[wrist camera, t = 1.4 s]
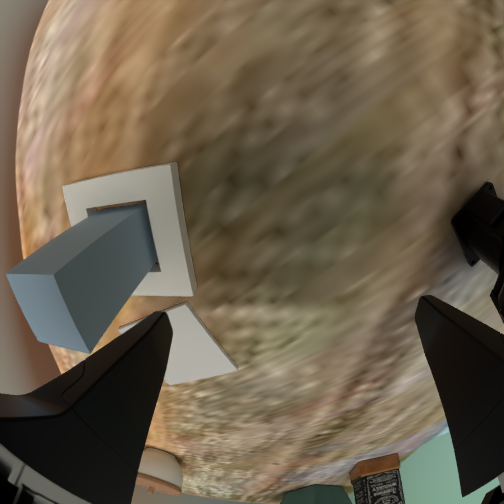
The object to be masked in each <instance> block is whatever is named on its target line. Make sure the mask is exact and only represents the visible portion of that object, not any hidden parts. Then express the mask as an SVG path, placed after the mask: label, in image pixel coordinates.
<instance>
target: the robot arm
mask: <svg viewBox="0 0 504 504" xmlns="http://www.w3.org/2000/svg"><path fill="white" fill-rule="evenodd" d="M456 221H457V223H456ZM452 226H453V228H454V230H455V233H456V235H457V237H458V239H459V242H460V244H461V247H462V249H463V251H464V254H465V256H466V259H467V262H468V264H469V265H470V266H474V265H475V264H476V263H477V262H478V261H479V260H480V259H481V260H482V261H483V262H484V263H486V264H487V265H488V266H489V267H490V268H491V269H492V270H494V271H495V272H496V273H497V274H498V278H497V281H496V283H495V286H494V289H493V290H492V291H491V294H490V297H491V299H492V301H493V303H494V305H495V307H496V308H497V310H498V313H499V315H500V317H501V319H502V321H503V323H504V200H502V199H500V198H498V197H497V195H496V192H495V189H494V186H493V184H492V183H491V182H486V184H485V185H484V186H483V187H482V188H481V189H480V190H479V191H478V192H477V194H476V195H475V196H474V197H473V198H472V199H471V200H470V201H469V202H468V203H467V204H466V205H465V206H464V207H463V208H462V209H461V211H460V212H459V213H458V214H457V215H456V216H455V217H454V218H453V219H452ZM415 322H416V325H417V328H418V332H419V335H420V339H421V342H422V346H423V349H424V353H425V356H426V359H427V361H428V364H429V367H430V369H431V372H432V375H433V378H434V381H435V384H436V387H437V390H438V393H439V396H440V399H441V402H442V405H443V409H444V412H445V416H446V419H447V423H448V427H449V431H450V434H451V438H452V443H453V447H454V449H455V450H454V452H455V457H456V462H457V467H458V473H459V479H460V486H461V493H462V497H464V496H466V495H468V494H470V493H472V492H474V491H475V490H477V489H479V488H480V487H482V486H484V485H485V484H487V483H488V482H490V481H492V480H493V479H495V478H496V477H498V479H499V482H500V485H498V486H497V487H495V488H494V489H493V490H491V491H490V492H488V493H486V495H485V497H484V499H483V501H482V503H481V504H504V335H503V334H502V333H500V332H498V331H496V330H495V329H493V328H491V327H489V326H488V325H486V324H484V323H482V322H480V321H479V320H477V319H475V318H473V317H471V316H470V315H468V314H466V313H464V312H462V311H460V310H458V309H457V308H455V307H453V306H451V305H449V304H447V303H445V302H443V301H442V300H440V299H438V298H436V297H434V296H432V295H425V296H421V297H420V299H419V302H418V305H417V309H416V313H415ZM172 338H173V329H172V326H171V323H170V320H169V317H168V314H167V313H166V312H165V311H155V312H154V313H152V314H151V315H149V316H148V317H146V318H145V319H143V320H142V321H140V322H139V323H137V324H136V325H134V326H133V327H131V328H130V329H129V330H127V331H126V332H124V333H123V334H121V335H120V336H118V337H117V338H115V339H114V340H112V341H111V342H110V343H108V344H107V345H105V346H104V347H102V348H101V349H99V350H98V351H96V352H95V353H93V354H92V355H91V356H89V357H88V358H86V359H85V360H83V361H82V362H80V363H79V364H77V365H76V366H74V367H73V368H71V369H70V370H68V371H67V372H65V373H63V374H62V375H60V376H58V377H57V378H55V379H53V380H52V381H50V382H48V383H46V384H44V385H43V386H41V387H39V388H37V389H36V390H34V391H32V392H30V393H27V394H24V395H9V394H1V393H0V504H131V501H132V496H133V492H134V487H135V483H136V479H137V475H138V470H139V466H140V462H141V458H142V454H143V450H144V446H145V443H146V439H147V435H148V431H149V428H150V424H151V421H152V417H153V414H154V410H155V407H156V403H157V400H158V396H159V393H160V390H161V386H162V383H163V380H164V377H165V373H166V369H167V364H168V359H169V354H170V348H171V343H172Z"/></svg>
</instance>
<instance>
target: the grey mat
mask: <svg viewBox="0 0 504 504" xmlns="http://www.w3.org/2000/svg"><path fill="white" fill-rule="evenodd" d="M163 311H165V312H166V313H167V314H168V317H169V320H170V323H171V326H172V329H173V338H172V343H171V348H170V354H169V359H168V364H167V369H166V373H165V377H164V380H165V381H166V382H167V383H168V384H169V385H173V384H179V383H184V382H189V381H194V380H199V379H204V378H209V377H213V376H217V375H222V374H226V373H230V372H234V371H238V366H237V365H236V364H235V363H234V362H233V360H232V359H231V358H230V357H229V355H228V354H227V353H226V352H225V351H224V349H223V348H222V347H221V346H220V344H219V343H218V342H217V340H216V339H215V338H214V337H213V335H212V334H211V333H210V331H209V330H208V329H207V328H206V326H205V325H204V324H203V322H202V321H201V320H200V318H199V317H198V316H197V314H196V313H195V312H194V310H193V309H192V308H191V306H190V305H189V303H188V302H187V301H186V302H184V303H181V304H178V305H176V306H173V307H171V308H168V309H166V310H163ZM145 318H146V317H145ZM145 318H142V319H140V320H137V321H134V322H132V323H129V324H127V325H124V326H121V327H119V329H118V331H119V332H120V333H121V334H123V333H124V332H126V331H127V330H129V329H130V328H131V327H133V326H134V325H136V324H137V323H139V322H140V321H142V320H143V319H145Z"/></svg>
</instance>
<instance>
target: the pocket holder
mask: <svg viewBox="0 0 504 504" xmlns="http://www.w3.org/2000/svg"><path fill="white" fill-rule="evenodd" d="M62 188H63V193H64V198H65V202H66V207H67V211H68V215H69V219H70V223H71V227H73V226H74V225H76V224H77V223H79V222H81V221H82V220H84V219H86V218H87V217H89V216H91V215H92V214H94V213H96V212H97V210H96V207H99V206H105V205H112V204H119V203H126V202H133V201H140V200H146V203H147V208H148V214H149V219H150V224H151V229H152V234H153V238H154V243H155V247H156V252H157V256H158V260H159V264H154V266H153V267H152V268H151V270H150V271H149V272H148V273H147V275H146V276H145V277H144V279H143V280H142V281H141V283H140V284H139V285H138V287H137V288H136V289H135V291H134V292H133V293H132V295H143V296H193V295H194V293H195V291H196V289H197V283H196V278H195V273H194V268H193V262H192V257H191V251H190V246H189V240H188V234H187V228H186V222H185V216H184V209H183V203H182V196H181V189H180V182H179V174H178V166H177V162H173V163H166V164H159V165H153V166H147V167H142V168H136V169H131V170H125V171H120V172H116V173H111V174H106V175H102V176H97V177H93V178H89V179H84V180H80V181H76V182H73V183H70V184H67V185H65V186H62Z"/></svg>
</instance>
